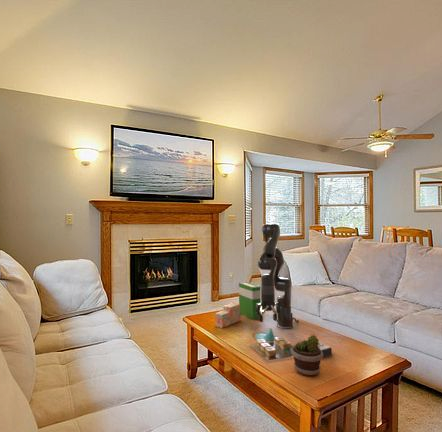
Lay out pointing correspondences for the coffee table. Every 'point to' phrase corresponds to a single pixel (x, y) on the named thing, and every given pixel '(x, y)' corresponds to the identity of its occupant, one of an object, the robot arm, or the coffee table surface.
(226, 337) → the coffee table surface
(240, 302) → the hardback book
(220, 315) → the stack of blocks
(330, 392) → the coffee table surface
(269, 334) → the diorama
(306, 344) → the flowerpot
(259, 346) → the letter board
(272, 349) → the tan cross-marked cube
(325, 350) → the calculator
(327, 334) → the coffee table surface
